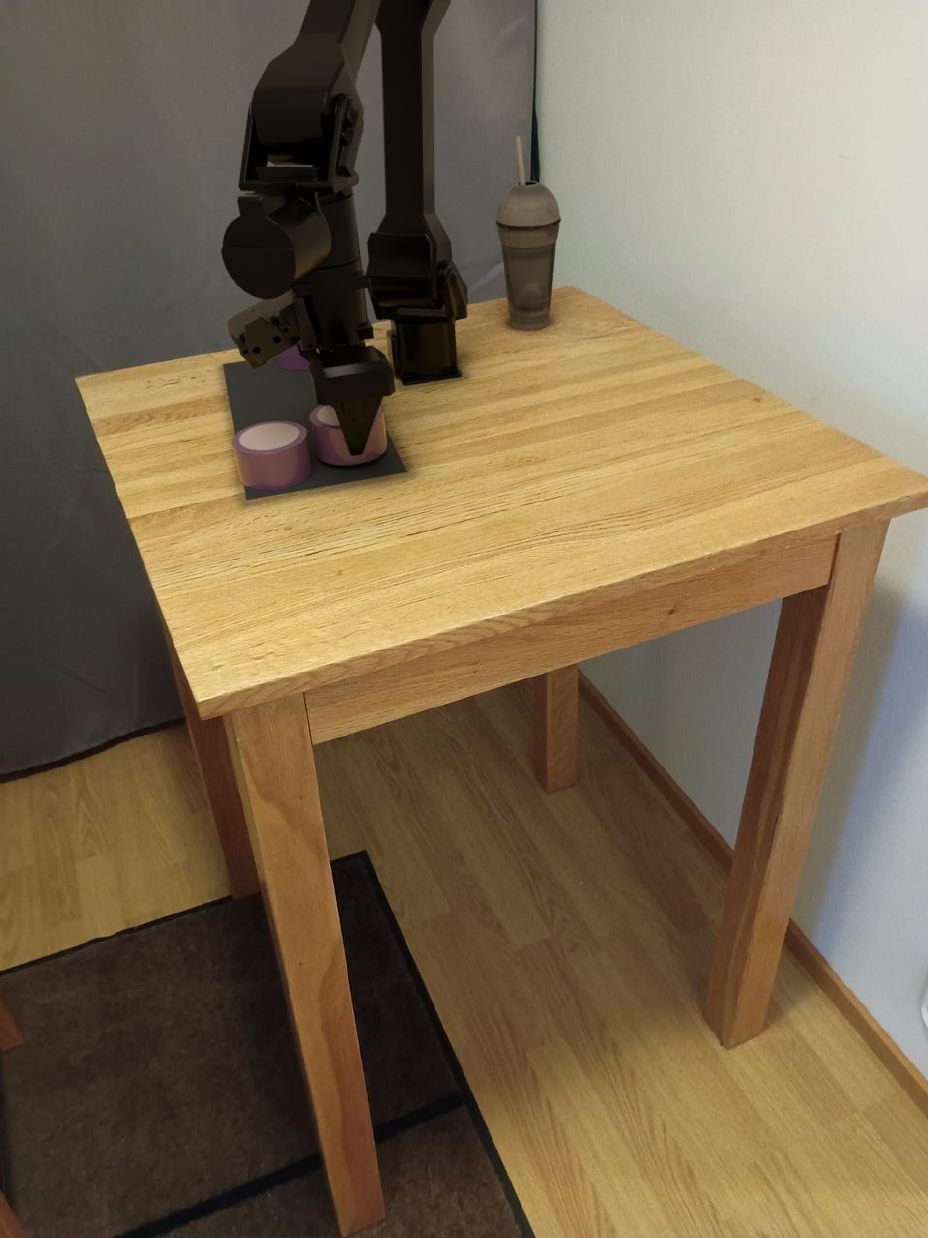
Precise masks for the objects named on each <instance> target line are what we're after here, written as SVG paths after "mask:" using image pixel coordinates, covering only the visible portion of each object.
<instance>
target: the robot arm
mask: <svg viewBox="0 0 928 1238" xmlns="http://www.w3.org/2000/svg"><path fill="white" fill-rule="evenodd" d="M451 3H452V0H309V1H308V4H307V7H306V10H305V13H304V15H303V18H302V22H301V25H300V27H299V31H298V32H297V33H298V34H297V35H296V38H295V39H294V41H293V44H291V45H290V46H289V47H287V48H286V49H284V50H283V51H281V52H280V53H279V54H278V55H277V56H275V57H274V58H272V59H271V60H270V61H269V62H268V64H267V66H266V68H265V69H264V71H263V73H262V75H261V76H260V78H259V80H258V82H257V84H256V85H255V88H254V90H253V92H252V95H251V100H250V102H249V105H248V109H247V115H246V124H245V130H244V131H245V132H244V139H243V140H244V141H243V148H242V155H241V161H240V168H239V169H240V170H239V178H238V188H239V191H240V192H244V193H242V194H240V195H238V196H237V199H236V202H237V207H238V213H239V216H237V217H236V218H234V219H233V220H232V221H230V223H229V224H228V226H227V227H226V229H225V231H224V235H223V237H222V247H221V250H220V251H221V258H222V261H223V265H224V267H225V269H226V272H227V273H228V275H229V277H230V278H231V280H232V281H233V282H234V283H235V285H236V286H237V287H238V288H239V289H241V290H242V291H243V292H244V293H246V294H248V295H250V296H252V297H254V298H257V299H261V301H259V302H257V303H255V304H253V305H251V306H249V307H247V308H246V309H243V310H242V311H240V312H238V313H236V314H235V315H233V316H232V317H231V318H229V320H228V321H227V323H226V324H227V329H228V334H229V337H230V338H231V340H232V341H233V343H234V345H235V347H236V348H237V350H238V352H239V355H240V357H242V359H244V361H246V362H247V364H248V366H249V367H250V368H251V369H256V368H259V367H261V366H263V365H265V364H266V362H267V360H269V359H271V358H272V357H274V356H276V355H278V354H280V353H282V352H284V351H285V350H287V349H289V348H291V347H293V346H294V345H296V347H297V350H298V353H299V355H300V356H302V357H303V358H304V359H306V360H307V361H308V362H310V365H309V366H308V369H309V375H310V381H311V385H312V386H311V388H312V391H313V394H314V396H315V399H316V402H317V404H318V405H323V406H331V407H332V408H334V410H335V413H336V416H337V419H338V421H339V424H340V427H341V430H342V433H343V436H344V438H345V441H346V444H347V447H348V450H349V452H350V455H351V456H356V455H361V454H363V452H364V449H365V446H366V443H367V441H368V438H369V435H370V432H371V429H372V426H373V423H374V421H375V418H376V415H377V412H378V410H379V407H380V405H381V406H382V402H383V400H384V398H385V397H390V396H392V395H393V394H395V393H396V392H397V391H396V383H395V376H396V377H397V378H398V380H399V381H400V383H401V384H402V386H404V387H409V386H416V385H422V384H427V383H433V382H441V381H445V380H452V379H458V378H462V377H463V375H464V374H463V371H462V369H461V368H460V367H459V365H458V364H459V363H458V348H457V346H458V345H457V333H456V322H457V321H461V320H465V319H467V318H468V303H469V298H468V293H469V292H468V287H467V285H466V283H465V281H464V279H463V278H462V275H461V273H460V272H459V269H458V268H457V266H456V264H455V262H454V261H453V250H452V240H451V239H450V237H449V235H448V234H447V231H446V230H445V228H444V227H443V225H442V223H441V221H440V219H439V217H438V215H437V214H436V205H435V204H436V201H435V199H436V197H435V195H436V193H435V192H436V190H435V189H436V187H435V74H434V72H435V70H434V68H435V67H434V63H435V62H434V61H435V60H434V58H435V57H434V56H435V55H434V42H435V41H434V40H435V39H434V38H435V36H436V33H437V32H438V29H440V26H441V24H442V22H443V20H444V17H445V16H446V15H447V12H448V10H449V9H450V6H451ZM374 25H375V28H376V29H377V31H378V33H379V37H380V62H381V65H380V66H381V69H380V70H381V98H382V99H381V101H382V127H383V128H382V131H383V132H382V134H383V135H382V136H383V137H382V138H383V165H384V169H383V170H384V203H385V207H384V209H385V210H384V215H383V216H382V219H381V220H380V223H379V224H378V227H377V228H376V230H375V231H371V232H370V233H369V235H368V238H367V241H366V245H367V246H366V247H367V257H368V261H367V262H368V263H367V266H366V270H364V268H363V265H362V256H361V249H360V240H359V231H358V221H357V214H356V213H357V212H356V206H355V198H354V197H355V196H354V192H353V191H354V189H353V187H355V186H357V185H358V184H359V183H360V176H359V174H358V172H356V170H355V167H356V162H357V158H358V153H359V149H360V145H361V142H362V137H363V133H364V131H365V130H364V125H365V120H364V115H365V109H364V106H363V103H362V101H361V97H360V95H359V92H358V89H357V86H356V85H357V81H358V76H359V72H360V69H361V65H362V62H363V59H364V56H365V53H366V50H367V46H368V43H369V40H370V36H371V33H372V32H373V27H374ZM269 163H271V164H272V165H273V166H268V164H269ZM366 289H367V291H368V295H369V298H370V302H371V305H372V309H373V311H374V315H375V319H376V321H384V320H385V321H389V323H390V329H387V330H386V332H385V335H386V342H387V351H388V357H387V356H386V355H385V353H383V352H382V351H381V350H379V349H378V348H376V346H374V345H373V344H372V345H371V344H370V345H367V344H366V341H367V340H373V339H375V334H374V333H375V332H374V326H373V324H372V323H371V321H370V319H369V317H368V307H367V299H366V291H365V290H366ZM299 340H300V342H299Z"/></svg>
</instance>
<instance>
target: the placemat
mask: <svg viewBox="0 0 928 1238" xmlns="http://www.w3.org/2000/svg"><path fill="white" fill-rule="evenodd" d="M222 367H223V368H222V369H223V371H224V380H225V386H226V391H227V396H228V403H229V407H230V413H231V419H232V420H231V421H232V427H233V431H234V436H235V435H236V434H237V433H238V432H240V431H241V430H243V429H245V428H247V427H249V426H252V425H255V424H259V423H264V422H270V421H289V422H294V423H298V424H300V425H302V426H303V427H305V429H306V430H307V434H308V440H309V446H310V452H311V457H312V463H313V472H312V474H311V475H310V477H309V478H307V479H306V480H305V481H303V482H301V483H300V484H297V485H295V486H292V487H289V488H285V489H280V490H272V491H262V490H255V489H251V488H248V487H246V486H245V485H243V489H244V493H245V494H244V495H245V499H246V500H245V501H251V500H252V501H253V500H256V499H257V500H258V499H261V498H262V499H263V498H269V497H274V496H279V495H285V494H292V493H297V492H303V491H308V490H315V489H319V488H326V487H331V486H336V485H337V486H338V485H342V484H347V483H354V482H358V481H365V480H370V479H376V478H382V477H387V476H393V475H398V474H399V475H400V474H404V473H408V470H407V468H406V466H405V464H404V462H403V460H402V458H401V456H400V454H399V452H398V450H397V448H396V446H395V443H394V441H393V440H392V438H391V436H390V434H389V432H388V430H387V427H386V426H385V429H386V438H387V449H386V451H385V452H384V453H383V454H382V455H381V456H379V457H378V458H376V459H374V460H371V461H369V462H365V463H361V464H356V465H333V464H329V463H325V462H323V461H321V460H320V459H319V458H318V457H317V456H316V453H315V447H314V441H313V435H312V429H311V423H310V414H311V412H312V411H313V410H314V409H315V408H317V407H318V406H320V405H318V404H317V402H316V399H315V396H314V394H313V391H312V388H311V386H312V385H311V381H310V375H309V370H286V369H283V368H280V367H279V366H277V364H276V360H275V356H274V357H272V358H271V359H269V360H267V362H266V364H265V365H263V366H261V367H259V368H256V369H251V368H250V367H249V366H248V364H247V362H246V361H245V360H240V361H233V362H227V363H222Z"/></svg>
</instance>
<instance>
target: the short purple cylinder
mask: <svg viewBox="0 0 928 1238" xmlns="http://www.w3.org/2000/svg"><path fill="white" fill-rule="evenodd" d="M299 342H300V340H299ZM275 360H276V364H277V366H279V367H280V368H283V369H286V370H309V369H308V366H309V365H310V362H308V361H307V360H306V359H304V358H303V357H302V356H300V355H299V353H298V350H297V347H296V345H294V346H293V347H291V348H289V349H287V350H285V351H284V352H282V353H280V354H278V355H276V356H275Z"/></svg>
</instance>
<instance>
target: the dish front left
mask: <svg viewBox="0 0 928 1238" xmlns="http://www.w3.org/2000/svg"><path fill="white" fill-rule="evenodd" d="M384 413H385V412H384V407H383V406H382V404H381V405H380V407H379V410H378V412H377V415H376V418H375V421H374V423H373V426H372V429H371V432H370V435H369V438H368V441H367V443H366V446H365V449H364V452H363V454H361V455H356V456H351V455H350V452H349V450H348V447H347V444H346V441H345V438H344V436H343V433H342V430H341V427H340V424H339V421H338V419H337V416H336V413H335V410H334V408H332V407H331V406H323V405H320V406H318V407H317V408H315V409H314V410H313V411H312V412H311V414H310V423H311V429H312V435H313V441H314V447H315V453H316V456H317V457H318V458H319V459H320V460H321V461H323V462H325V463H329V464H333V465H356V464H361V463H365V462H369V461H371V460H374V459H376V458H378V457H379V456H381V455H382V454H383V453H384V452H385V451H386V449H387V438H386V429H387V428H386V429H385V427H386V422H385V414H384Z"/></svg>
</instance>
